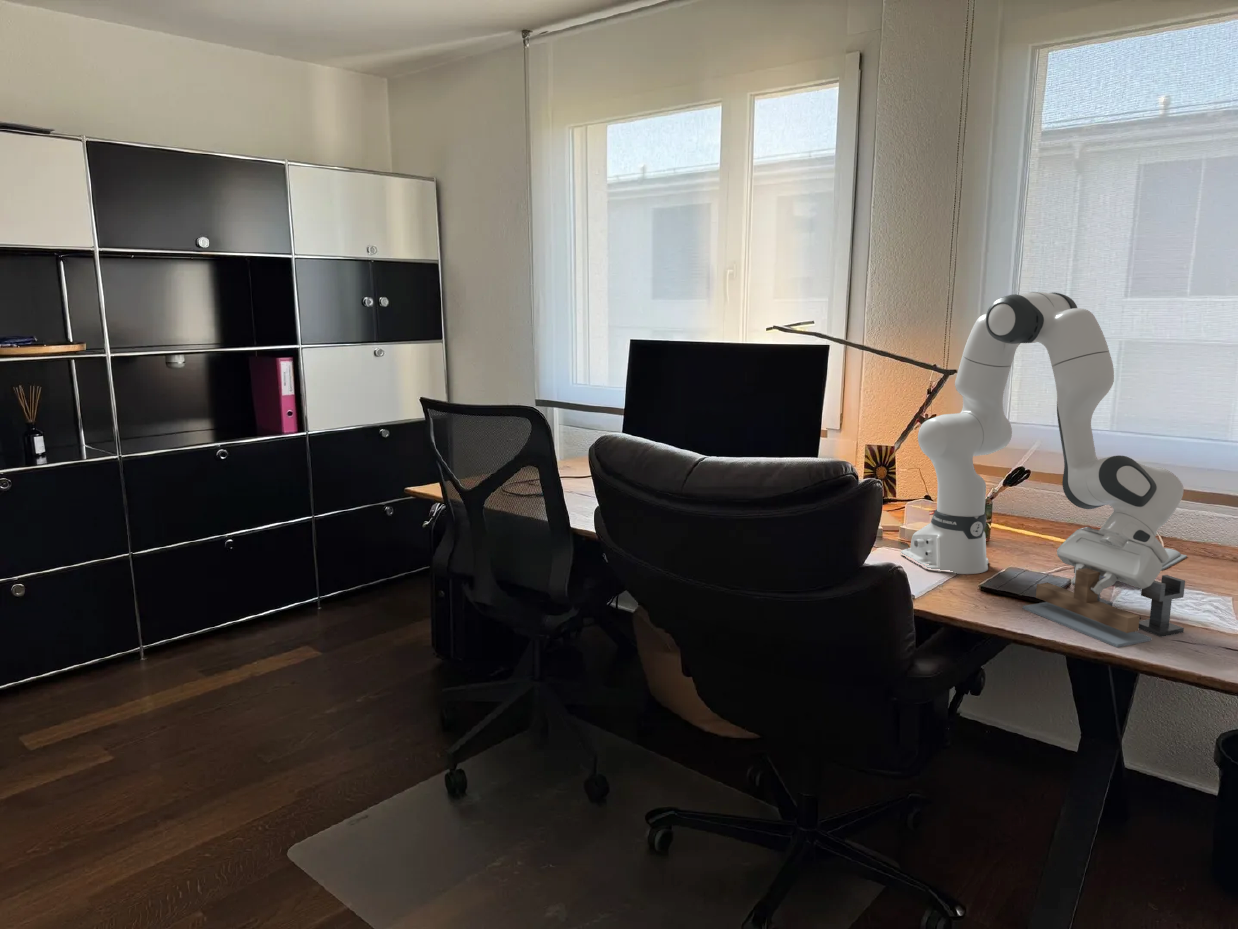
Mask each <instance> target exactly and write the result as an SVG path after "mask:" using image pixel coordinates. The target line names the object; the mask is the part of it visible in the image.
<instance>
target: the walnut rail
mask: <svg viewBox="0 0 1238 929" xmlns="http://www.w3.org/2000/svg"><path fill="white" fill-rule="evenodd" d="M1099 576H1100V572H1097V571H1094V570H1091V569H1088V568H1085V569H1079V570H1076V577H1075V586H1074V589H1073V590H1070V589H1066V588H1065V587H1061V586H1058V585H1057V584H1056V585H1055V584H1053V583H1050V582H1043V583H1041V582H1040V583H1037V584H1036V588H1035V589H1036V591H1035V598H1036V599H1038V600H1042V601H1044V602H1049V603H1051V604H1054V605H1056V606H1059V607H1062V608H1064V609H1067V610H1069V611H1072V612H1074V613H1077V614H1080V615H1082V616H1085V617H1087V618H1090V619H1092V620H1095V621H1097V622H1100V623H1103V624H1105V625H1108V626H1110V627H1113V628H1115V629H1118V630H1120V631H1123V632H1126V633H1129V632H1139V621H1140V617H1141V616H1140V615H1138V614H1136V613H1133V612H1129V611H1126V610H1124V609H1121V608H1118V607H1116V606H1114V605H1113V606H1111V605H1108V604H1105V603H1102V602H1100V601H1097V598H1098V594H1095V593H1093V592H1091V591H1090V589H1089V587H1090V586H1091V585H1092V583H1093V582H1099Z"/></svg>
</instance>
